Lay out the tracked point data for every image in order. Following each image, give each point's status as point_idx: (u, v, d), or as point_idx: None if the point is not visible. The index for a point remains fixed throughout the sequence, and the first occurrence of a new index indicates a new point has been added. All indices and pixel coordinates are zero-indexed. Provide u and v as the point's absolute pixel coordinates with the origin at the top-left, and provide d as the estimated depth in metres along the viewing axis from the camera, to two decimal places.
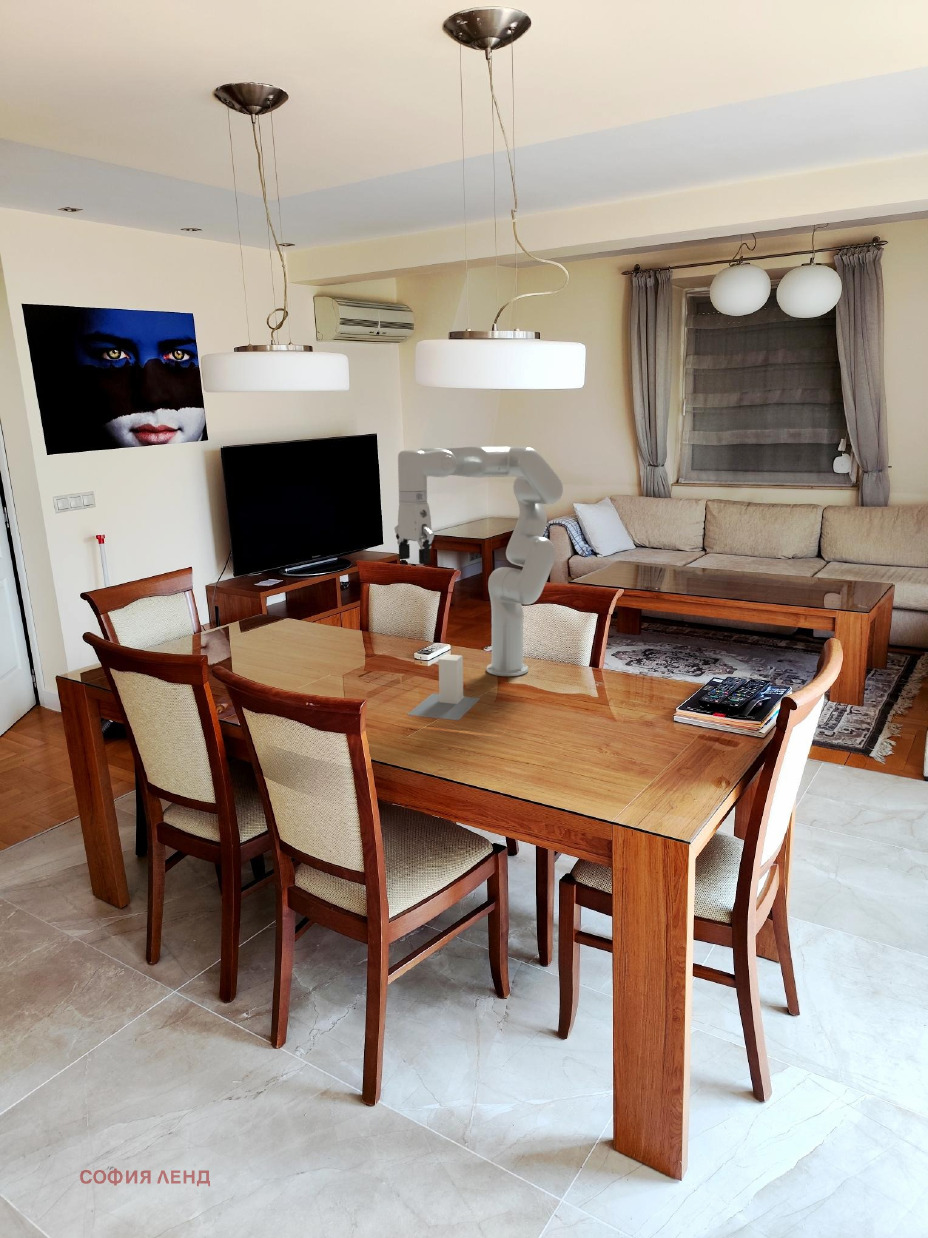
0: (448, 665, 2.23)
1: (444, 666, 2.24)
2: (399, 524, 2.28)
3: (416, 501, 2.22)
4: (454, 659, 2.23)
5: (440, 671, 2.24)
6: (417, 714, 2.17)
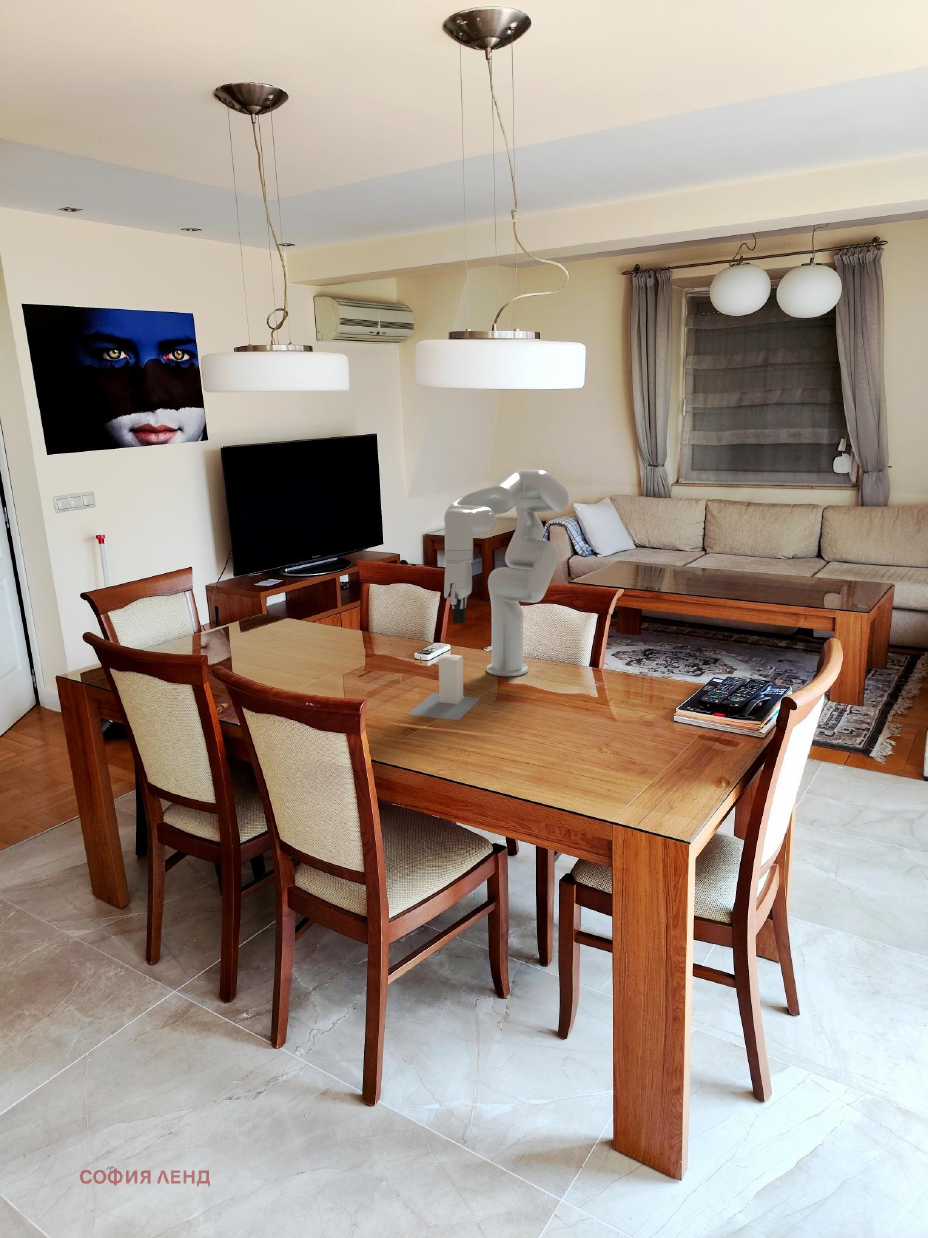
0: (448, 665, 2.23)
1: (444, 666, 2.24)
2: (462, 585, 2.24)
3: None
4: (454, 659, 2.23)
5: (440, 671, 2.24)
6: (417, 714, 2.17)
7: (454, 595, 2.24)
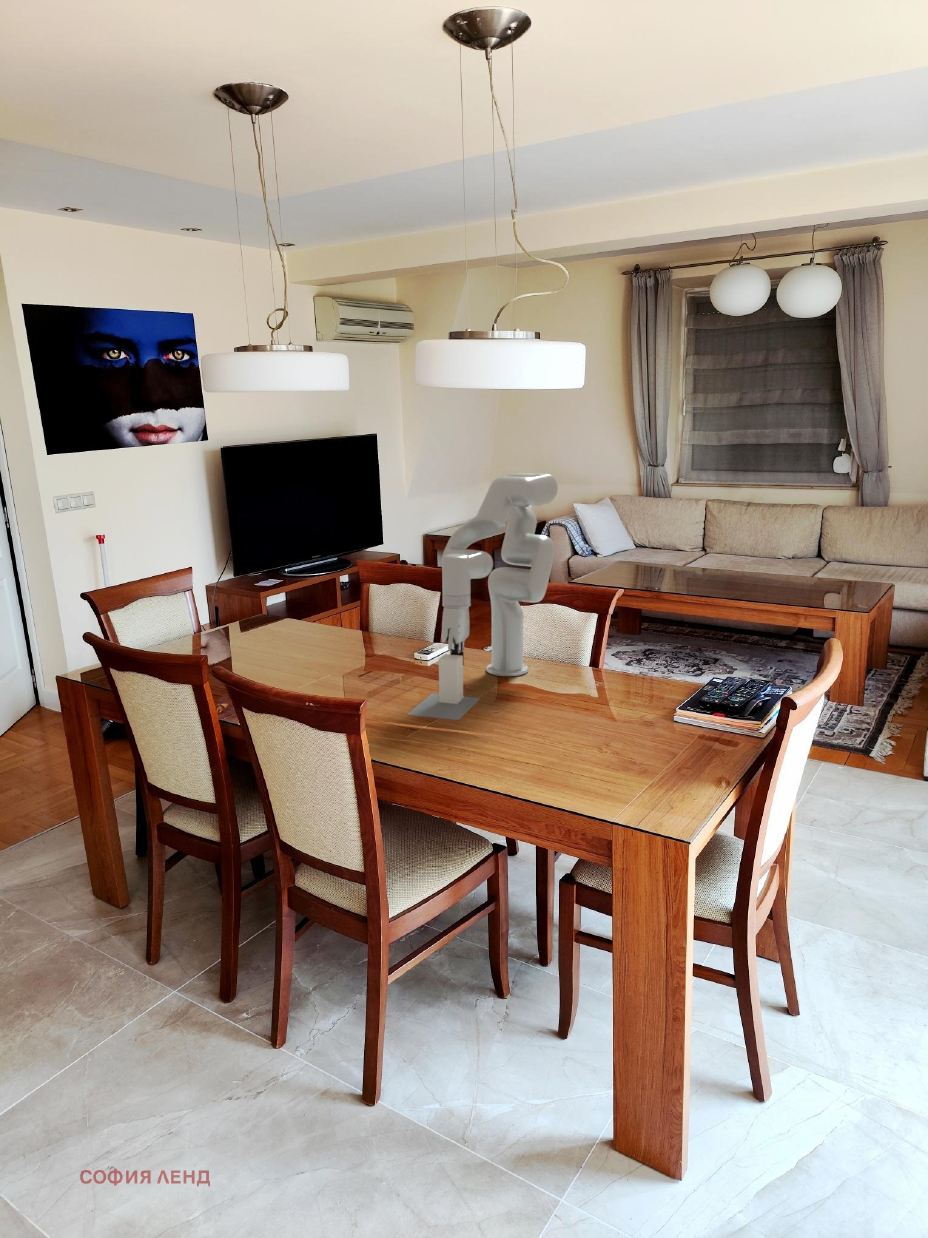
0: (448, 665, 2.23)
1: (444, 666, 2.24)
2: (460, 630, 2.24)
3: None
4: (454, 659, 2.23)
5: (440, 671, 2.24)
6: (417, 714, 2.17)
7: (452, 640, 2.24)
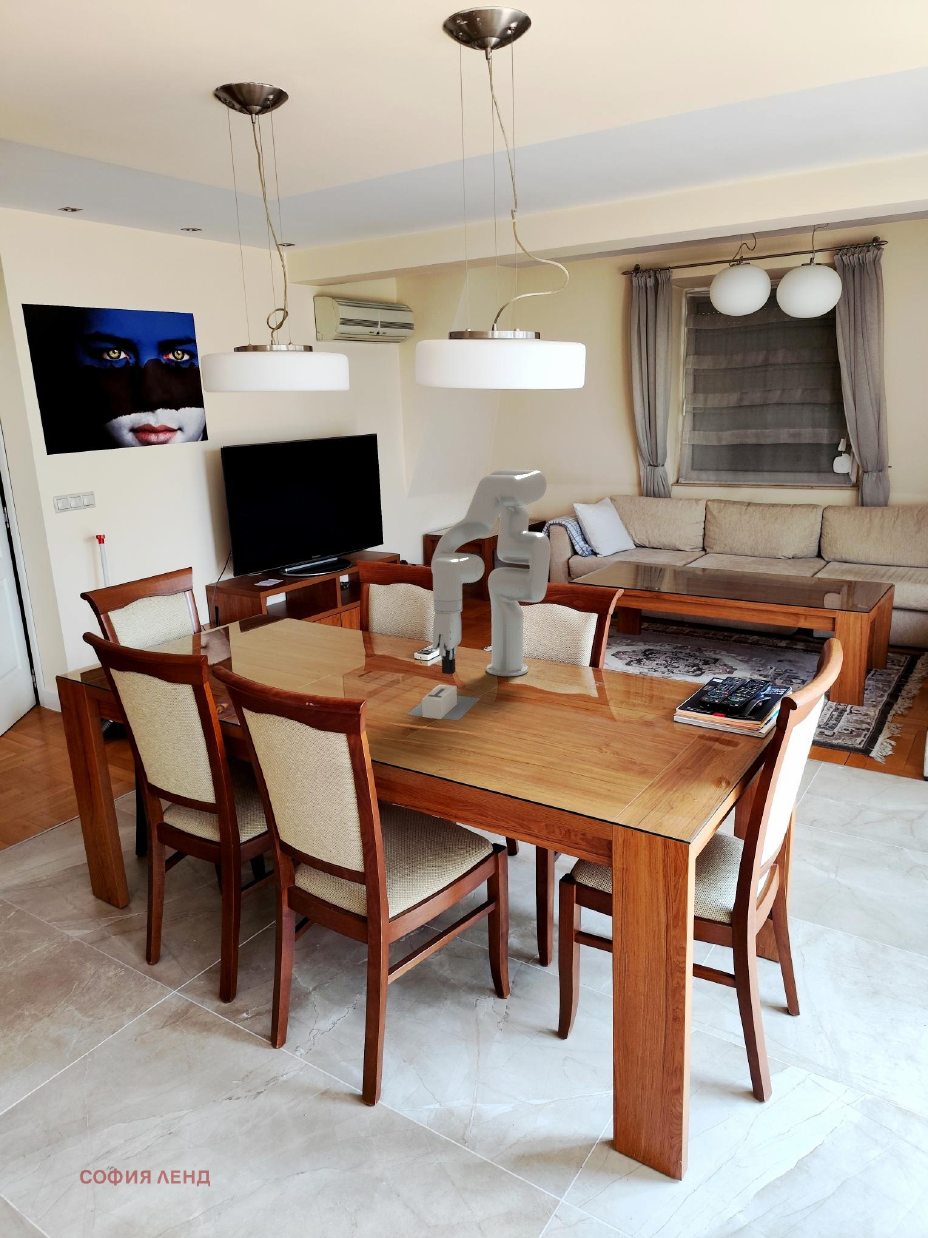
0: None
1: None
2: (451, 636, 2.18)
3: None
4: (437, 716, 2.14)
5: None
6: (417, 714, 2.17)
7: (443, 646, 2.18)
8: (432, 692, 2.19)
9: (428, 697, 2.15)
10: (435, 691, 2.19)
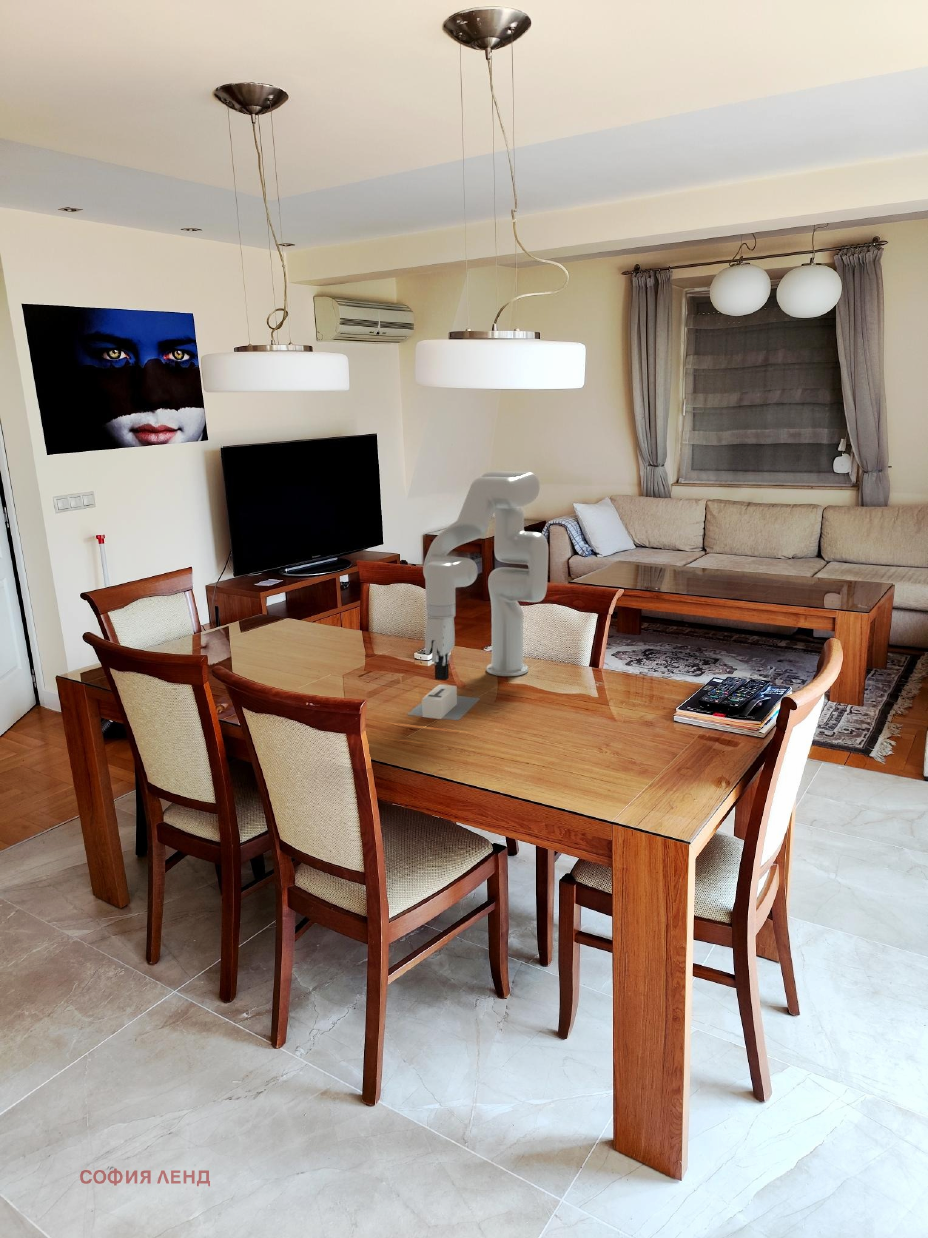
0: None
1: None
2: (444, 642, 2.13)
3: None
4: (437, 716, 2.14)
5: None
6: (417, 714, 2.17)
7: (436, 652, 2.13)
8: (432, 692, 2.19)
9: (428, 697, 2.15)
10: (435, 691, 2.19)
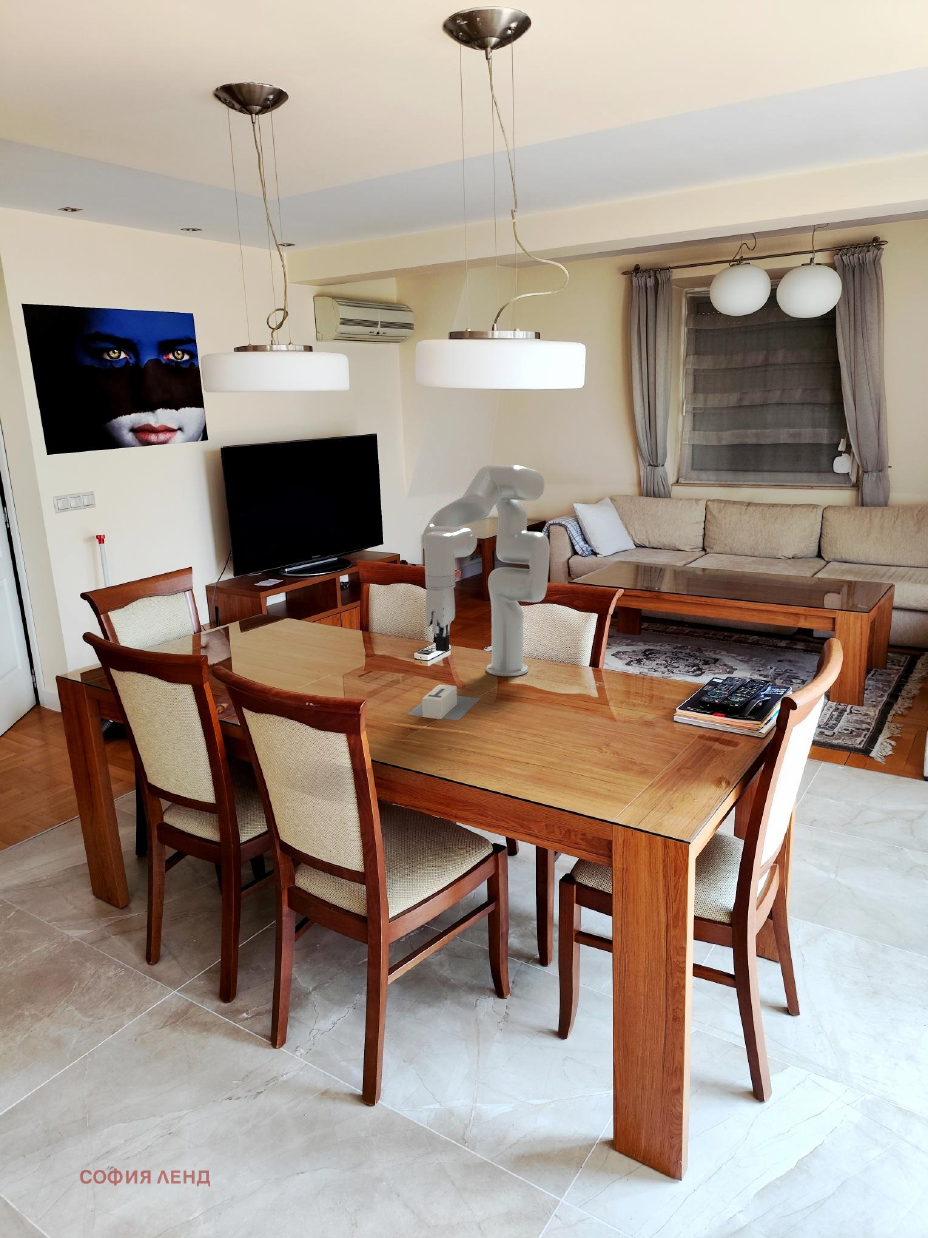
0: None
1: None
2: (444, 613, 2.12)
3: None
4: (437, 716, 2.14)
5: None
6: (417, 714, 2.17)
7: (436, 623, 2.12)
8: (432, 692, 2.19)
9: (428, 697, 2.15)
10: (435, 691, 2.19)
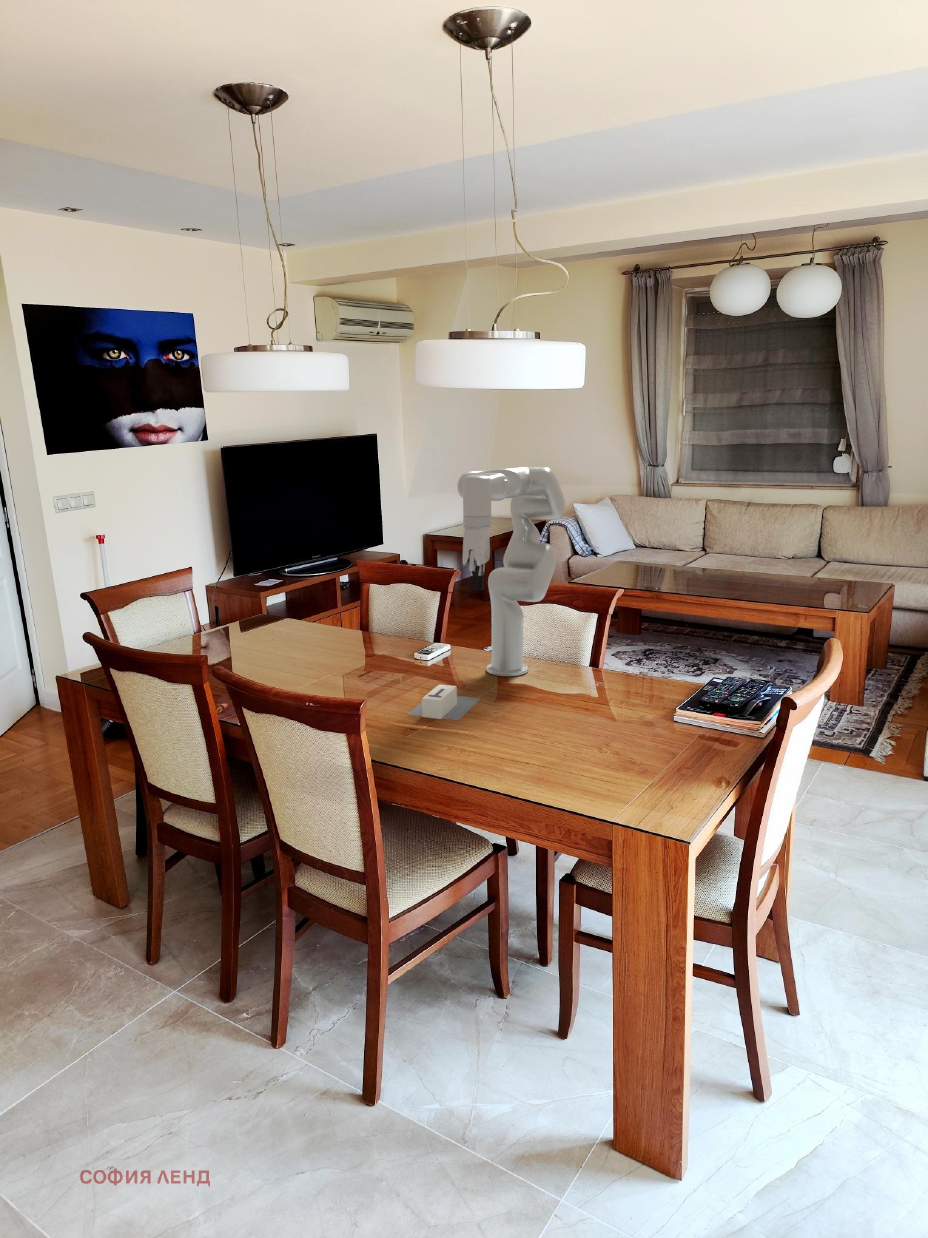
0: None
1: None
2: (481, 551, 2.24)
3: None
4: (437, 716, 2.14)
5: None
6: (417, 714, 2.17)
7: (473, 561, 2.24)
8: (432, 692, 2.19)
9: (428, 697, 2.15)
10: (435, 691, 2.19)
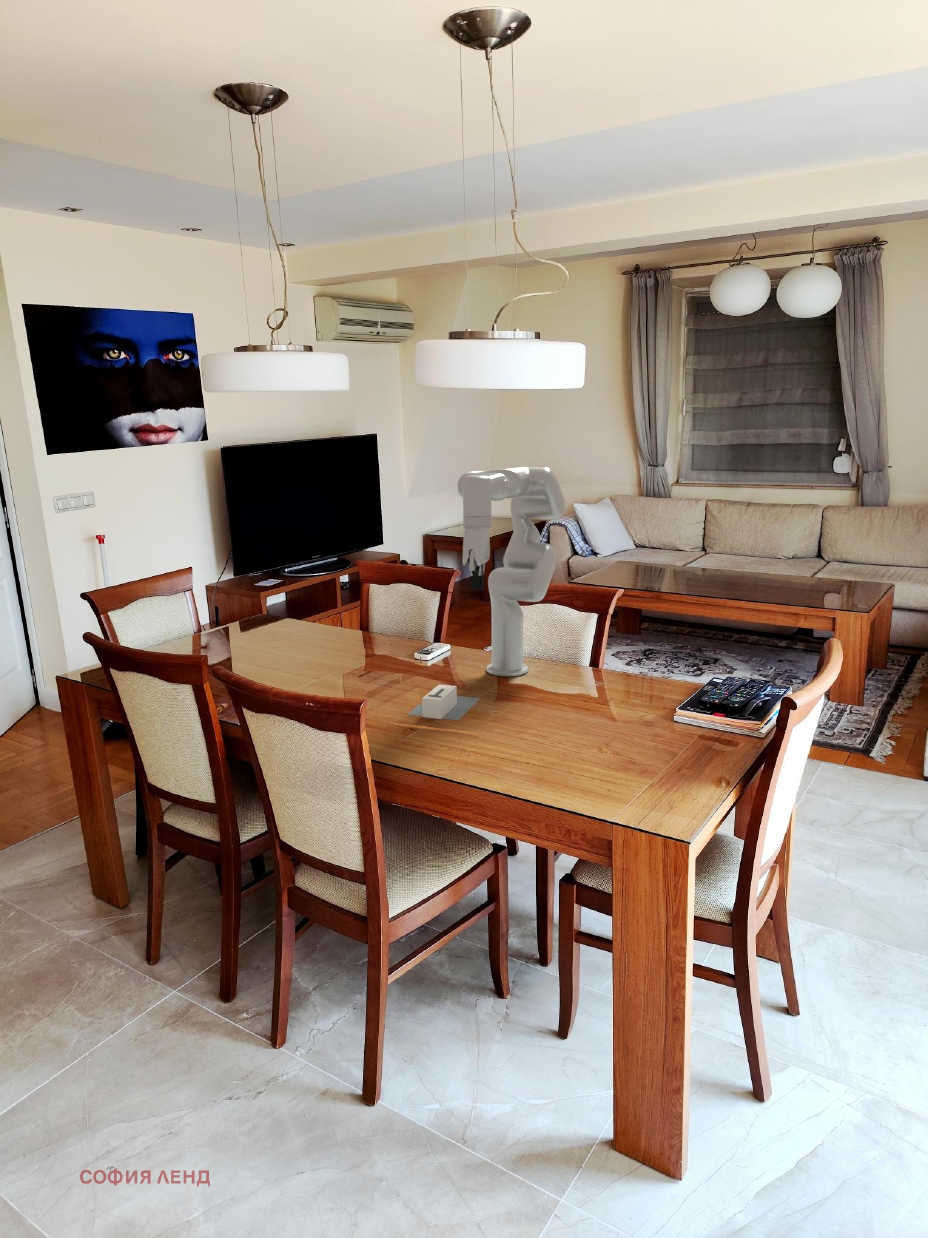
0: None
1: None
2: (481, 551, 2.24)
3: None
4: (437, 716, 2.14)
5: None
6: (417, 714, 2.17)
7: (473, 561, 2.24)
8: (432, 692, 2.19)
9: (428, 697, 2.15)
10: (435, 691, 2.19)
